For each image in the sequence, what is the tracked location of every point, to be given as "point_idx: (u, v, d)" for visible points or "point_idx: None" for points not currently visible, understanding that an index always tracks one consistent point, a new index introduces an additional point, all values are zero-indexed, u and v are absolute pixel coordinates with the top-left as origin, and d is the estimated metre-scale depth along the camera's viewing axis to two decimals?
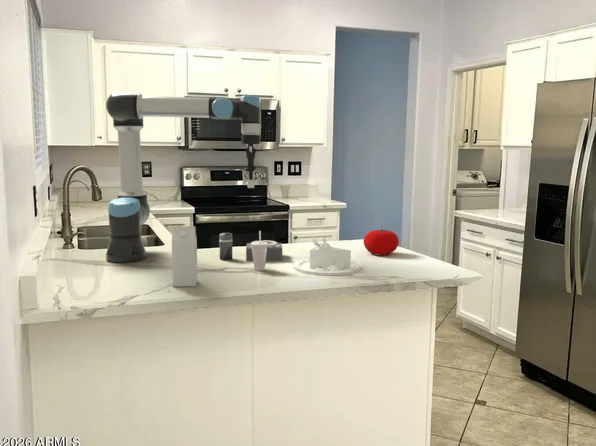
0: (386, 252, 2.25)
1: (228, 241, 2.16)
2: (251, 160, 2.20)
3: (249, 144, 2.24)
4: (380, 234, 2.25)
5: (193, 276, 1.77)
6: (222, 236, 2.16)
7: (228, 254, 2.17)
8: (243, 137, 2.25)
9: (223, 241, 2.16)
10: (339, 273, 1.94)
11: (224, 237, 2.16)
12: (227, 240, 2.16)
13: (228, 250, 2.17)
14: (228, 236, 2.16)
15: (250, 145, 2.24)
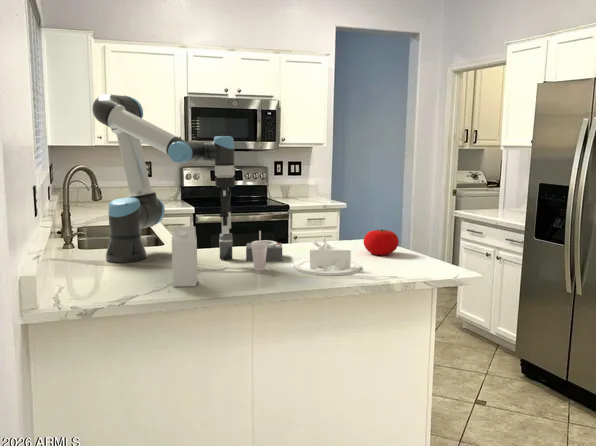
0: (386, 252, 2.25)
1: (228, 241, 2.16)
2: (225, 205, 2.07)
3: (223, 187, 2.11)
4: (380, 234, 2.25)
5: (193, 276, 1.77)
6: (222, 236, 2.16)
7: (228, 254, 2.17)
8: (217, 180, 2.12)
9: (223, 241, 2.16)
10: (339, 273, 1.94)
11: (224, 237, 2.16)
12: (227, 240, 2.16)
13: (228, 250, 2.17)
14: (228, 236, 2.16)
15: (224, 188, 2.11)
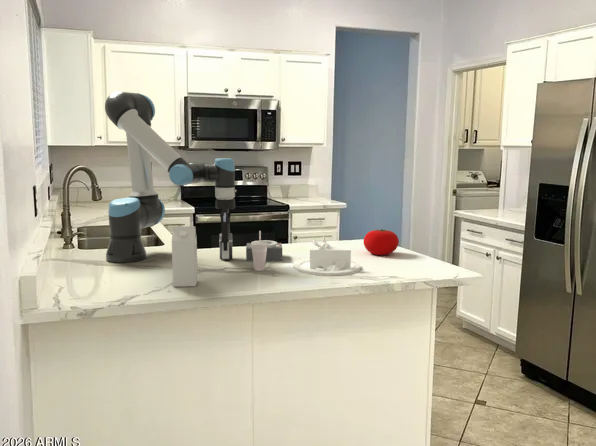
0: (386, 252, 2.25)
1: None
2: (225, 232, 2.12)
3: (223, 209, 2.13)
4: (380, 234, 2.25)
5: (193, 276, 1.77)
6: None
7: None
8: (217, 202, 2.13)
9: None
10: (339, 273, 1.94)
11: None
12: None
13: None
14: None
15: (224, 210, 2.13)
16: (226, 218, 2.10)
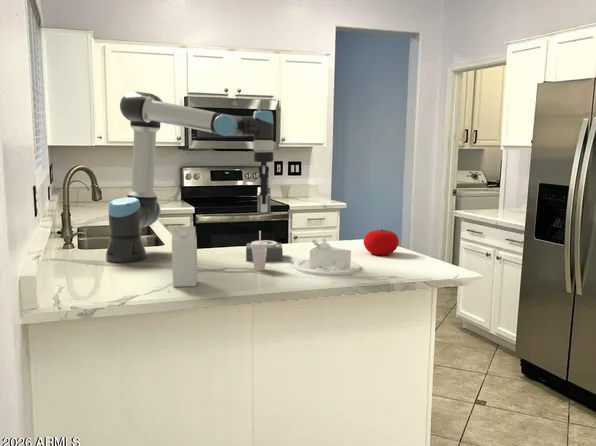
0: (386, 252, 2.25)
1: None
2: (265, 184, 2.11)
3: (262, 162, 2.12)
4: (380, 234, 2.25)
5: (193, 276, 1.77)
6: None
7: (267, 208, 2.16)
8: (256, 155, 2.13)
9: None
10: (339, 273, 1.94)
11: None
12: None
13: (267, 204, 2.16)
14: (267, 189, 2.15)
15: (263, 163, 2.12)
16: (265, 170, 2.10)
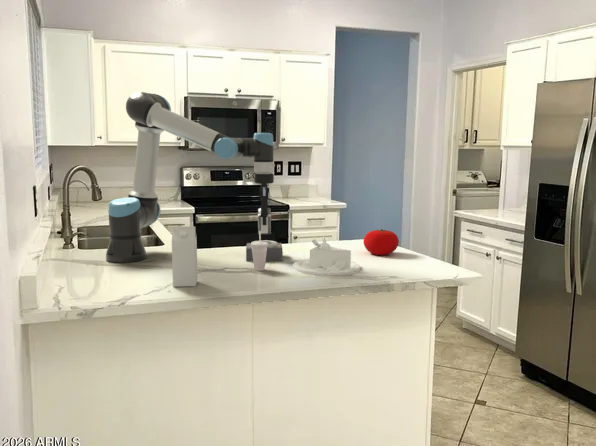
0: (386, 252, 2.25)
1: None
2: (265, 206, 2.12)
3: (262, 184, 2.13)
4: (380, 234, 2.25)
5: (193, 276, 1.77)
6: None
7: None
8: (256, 176, 2.14)
9: None
10: (339, 273, 1.94)
11: None
12: None
13: None
14: None
15: (263, 185, 2.13)
16: (266, 192, 2.11)
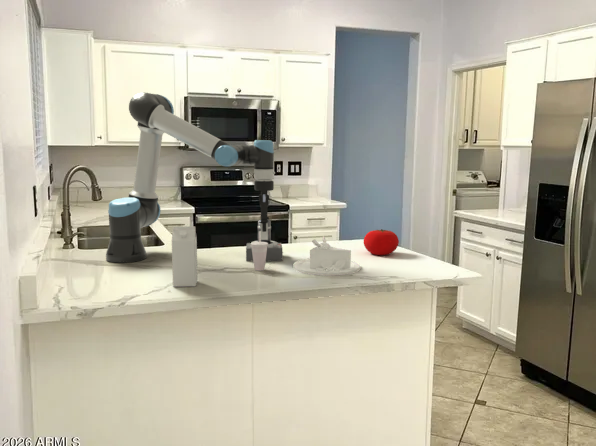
0: (386, 252, 2.25)
1: None
2: (265, 212, 2.11)
3: (262, 191, 2.14)
4: (380, 234, 2.25)
5: (193, 276, 1.77)
6: None
7: (267, 241, 2.18)
8: (256, 183, 2.14)
9: None
10: (339, 273, 1.94)
11: None
12: None
13: None
14: None
15: (263, 192, 2.14)
16: (266, 198, 2.11)
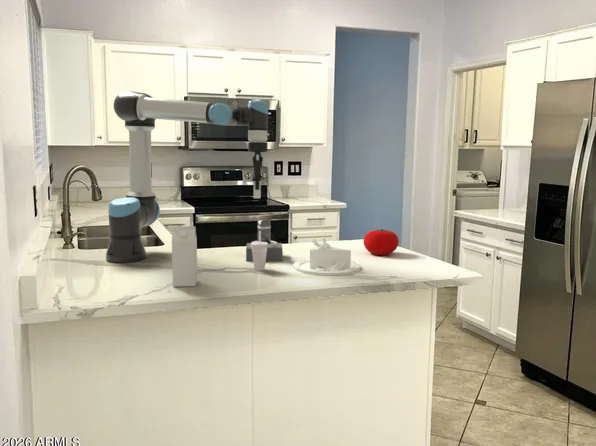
0: (386, 252, 2.25)
1: (267, 228, 2.17)
2: (258, 169, 2.09)
3: (256, 152, 2.13)
4: (380, 234, 2.25)
5: (193, 276, 1.77)
6: (261, 223, 2.17)
7: (267, 241, 2.18)
8: (250, 144, 2.13)
9: (262, 228, 2.17)
10: (339, 273, 1.94)
11: (263, 224, 2.17)
12: (266, 227, 2.17)
13: (267, 237, 2.18)
14: (267, 223, 2.17)
15: (257, 153, 2.13)
16: (259, 156, 2.10)
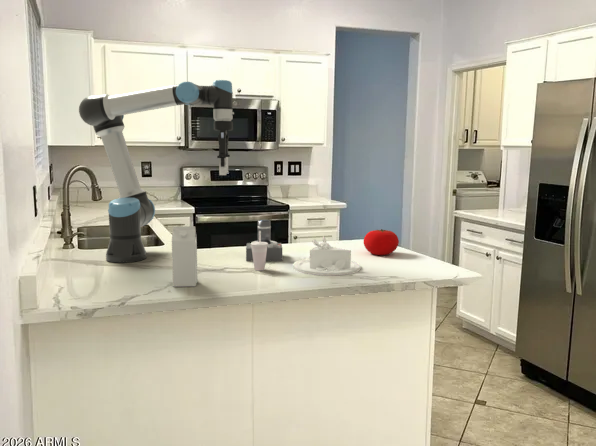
0: (386, 252, 2.25)
1: (267, 228, 2.17)
2: (223, 147, 2.14)
3: (221, 130, 2.18)
4: (380, 234, 2.25)
5: (193, 276, 1.77)
6: (261, 223, 2.17)
7: (267, 241, 2.18)
8: (215, 123, 2.19)
9: (262, 228, 2.17)
10: (339, 273, 1.94)
11: (263, 224, 2.17)
12: (266, 227, 2.17)
13: (267, 237, 2.18)
14: (267, 223, 2.17)
15: (222, 131, 2.18)
16: (224, 134, 2.15)
